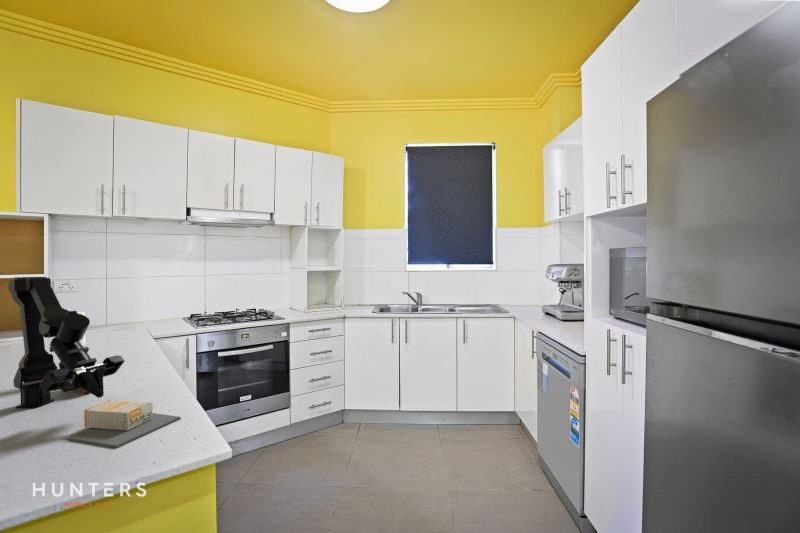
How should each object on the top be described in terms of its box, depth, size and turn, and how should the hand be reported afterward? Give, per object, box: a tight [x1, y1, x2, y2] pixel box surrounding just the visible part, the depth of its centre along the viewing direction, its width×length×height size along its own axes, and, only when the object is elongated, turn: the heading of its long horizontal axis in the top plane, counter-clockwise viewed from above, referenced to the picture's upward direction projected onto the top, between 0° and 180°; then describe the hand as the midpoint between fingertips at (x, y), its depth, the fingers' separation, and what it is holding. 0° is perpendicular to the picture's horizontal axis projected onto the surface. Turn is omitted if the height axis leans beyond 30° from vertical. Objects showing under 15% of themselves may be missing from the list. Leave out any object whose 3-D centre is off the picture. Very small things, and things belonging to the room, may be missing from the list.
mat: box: [67, 412, 182, 449], centre depth 104 cm, size 16×18×1 cm
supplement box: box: [83, 399, 153, 430], centre depth 106 cm, size 8×5×13 cm
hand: (101, 396), depth 107 cm, fingers closed
